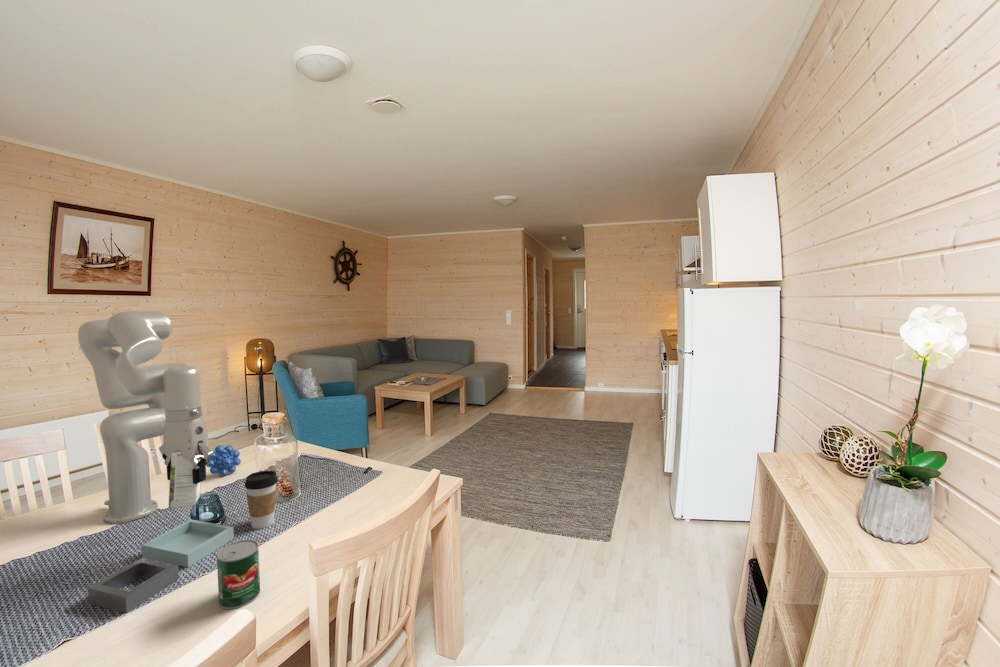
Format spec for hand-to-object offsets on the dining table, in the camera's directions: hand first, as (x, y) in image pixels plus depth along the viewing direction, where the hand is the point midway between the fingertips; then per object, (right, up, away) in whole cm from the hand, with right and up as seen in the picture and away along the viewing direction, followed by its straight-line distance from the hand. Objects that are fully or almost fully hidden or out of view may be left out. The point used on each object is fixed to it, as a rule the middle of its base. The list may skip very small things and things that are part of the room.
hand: (186, 479), depth 109 cm
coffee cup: (+12, -18, +14) cm, 26 cm away
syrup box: (0, -6, 0) cm, 6 cm away
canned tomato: (+24, -21, -16) cm, 36 cm away
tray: (0, -19, +2) cm, 19 cm away
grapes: (-20, -15, +46) cm, 52 cm away
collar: (0, -20, -15) cm, 25 cm away
